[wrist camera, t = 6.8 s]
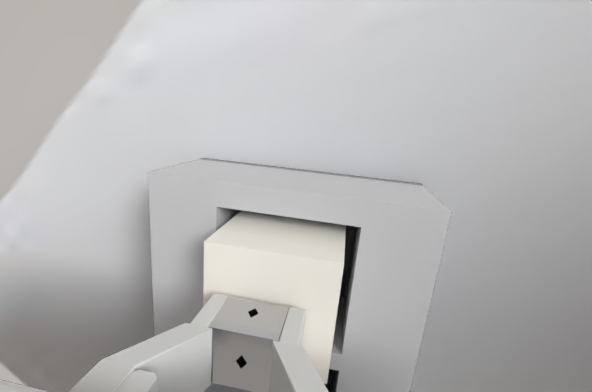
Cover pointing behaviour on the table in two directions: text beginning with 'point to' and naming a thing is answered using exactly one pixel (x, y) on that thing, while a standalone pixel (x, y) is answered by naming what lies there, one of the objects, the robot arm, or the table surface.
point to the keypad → (357, 261)
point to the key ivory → (281, 271)
